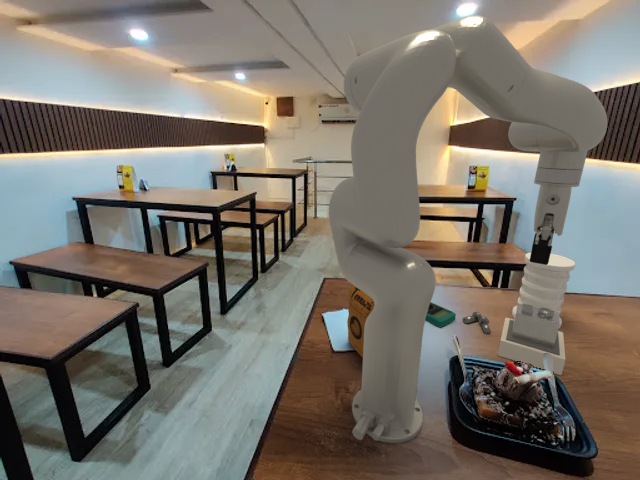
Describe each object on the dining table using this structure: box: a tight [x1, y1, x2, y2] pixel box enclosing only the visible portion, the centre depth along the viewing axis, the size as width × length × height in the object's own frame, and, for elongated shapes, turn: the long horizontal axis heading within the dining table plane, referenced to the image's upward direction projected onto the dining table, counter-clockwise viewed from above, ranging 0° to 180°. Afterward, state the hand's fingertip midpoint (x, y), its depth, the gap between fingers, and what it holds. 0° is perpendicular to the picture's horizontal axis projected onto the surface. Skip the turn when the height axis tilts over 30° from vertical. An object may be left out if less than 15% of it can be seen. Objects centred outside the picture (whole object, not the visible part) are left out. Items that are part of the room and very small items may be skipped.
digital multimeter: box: [425, 301, 457, 328], centre depth 92 cm, size 7×15×3 cm, turn 35°
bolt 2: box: [478, 315, 492, 335], centre depth 84 cm, size 5×2×2 cm, turn 166°
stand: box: [497, 317, 567, 376], centre depth 75 cm, size 12×12×4 cm
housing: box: [512, 302, 560, 348], centre depth 73 cm, size 8×6×7 cm
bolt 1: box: [462, 311, 482, 324], centre depth 87 cm, size 5×2×2 cm, turn 111°
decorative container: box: [511, 252, 576, 330], centre depth 86 cm, size 12×12×18 cm
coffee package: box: [346, 283, 374, 359], centre depth 72 cm, size 10×12×22 cm
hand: (539, 256), depth 69 cm, fingers open, 9 cm apart
